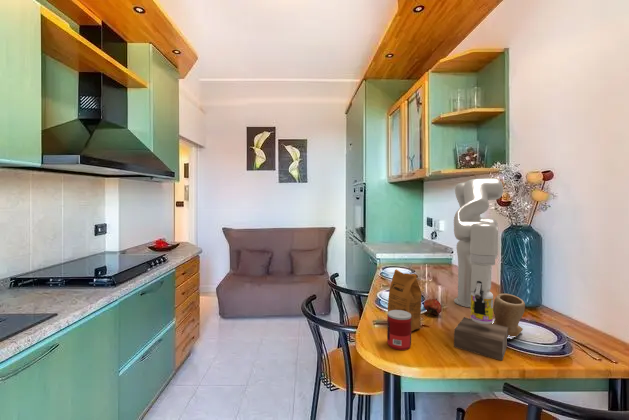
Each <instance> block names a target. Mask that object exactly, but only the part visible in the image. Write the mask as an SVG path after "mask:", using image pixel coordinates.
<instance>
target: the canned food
mask: <svg viewBox="0 0 629 420" xmlns="http://www.w3.org/2000/svg"><path fill="white" fill-rule="evenodd" d="M386 319H387V321H386V322H387V323H386V324H387V327H386V330H387V331H386V335H387V341H386V342H387V344H388V347H390V348H391V349H393V350H398V351H407V350H409V349H410V348H411V346H412V331H411V314H410V313H409V312H406V311H402V310H391V311H389V312H388V311H387V318H386Z"/></svg>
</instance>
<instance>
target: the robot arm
mask: <svg viewBox="0 0 629 420" xmlns="http://www.w3.org/2000/svg"><path fill="white" fill-rule="evenodd" d="M454 193H455V197H456V198H455V199H456V201H457V203H458V205H459V208H458V209H457V211H456V212H455V214H454V215H453V232H454V233H453V234H454V237H455V239H456V240H458V242H457V243H456V253H457V265H458V267H457V268H458V269H457V297H456V298H454V299H453V302H454V303H455V305H456V304H457V305H458V306H461V307H464V308H470V309H471V292H472V293H473V292H474V291H475V299H474V313H477V314H481V315H485V303H484V299H485V295H486V294H487V293H488V291H490V290H491V289H492V266H496V259H497V258H498V253H499V225H498V221H497V220H496V219H495V218H493V217H481V215H483V214H484V213H485V212H487V211H488V209H489V207H490V203H489V201H495V200H499V199H500V198H502V196H503V194H504V186H503V183H502V181H501V180H500V179H499V178H495V177H494V178H493V177H492V178H490V177H489V178H473V179H468V180H467V181H465V182H459V183H457V184H456V185H455V188H454ZM489 286H490V290H489ZM480 292H483V293H480ZM490 292H491V291H490ZM480 295H482V296H480Z"/></svg>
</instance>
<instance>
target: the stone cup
mask: <svg viewBox="0 0 629 420" xmlns="http://www.w3.org/2000/svg"><path fill="white" fill-rule="evenodd" d="M525 308H526V303H525V300H523V299H522V298H520V297H518V296H517V295H514V294H510V293H499V294H497V295H496V296H495V298H494V299H493V317H494V320H493V321H494V323H493V324H496V325H501V326H505V327H508V335H510V336H517V337H518V336H519V335H520V333H522V331H523V330H524V329H523V328H522V326H520V325H519V323H520V321H521V319H522V317H523V315H524V314H525V311H526V309H525Z"/></svg>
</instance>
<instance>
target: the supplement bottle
mask: <svg viewBox="0 0 629 420" xmlns="http://www.w3.org/2000/svg"><path fill="white" fill-rule="evenodd" d="M489 290H491V289H490V286H489ZM480 293H483V292H480ZM480 296H482V295H480ZM474 299H475V291H474V292H473V293H472V292H471V308H470V319H472V320H473V321H475V322H477V323H481V324H490V323H492V322H493V321H494V312H493V306H494V294H493V293H492V292H491V291H488V293H487V294H486V295H485V299H484V303H485V315H481V314H477V313H474Z"/></svg>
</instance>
